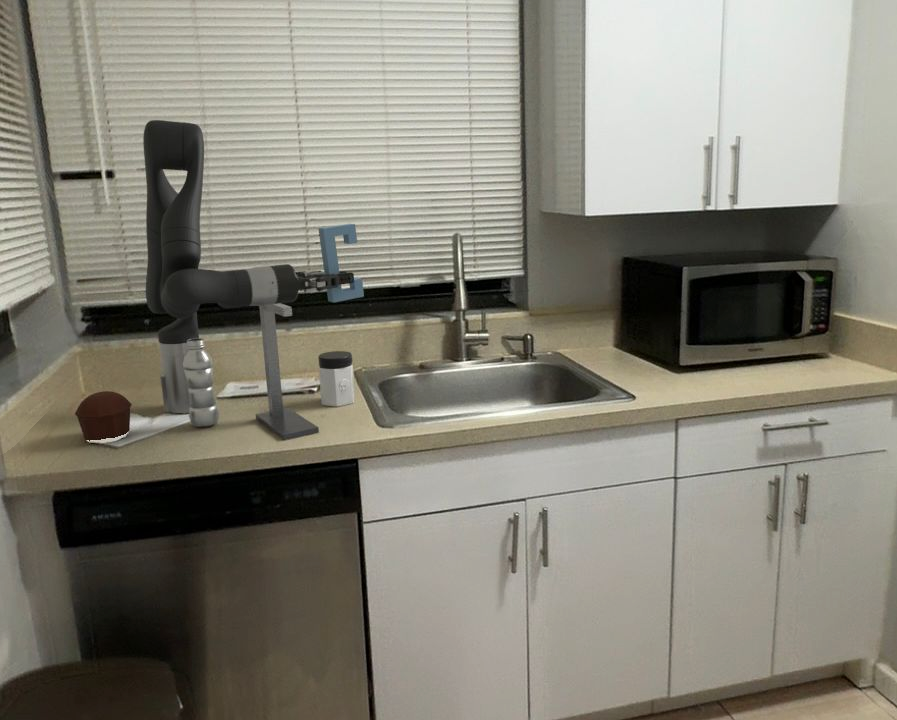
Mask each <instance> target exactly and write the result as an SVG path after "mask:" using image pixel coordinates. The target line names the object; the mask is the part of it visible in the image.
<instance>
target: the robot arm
mask: <svg viewBox="0 0 897 720" xmlns="http://www.w3.org/2000/svg"><path fill="white" fill-rule="evenodd" d="M142 138H143V142H142V143H143V157H144V158H143V159H144V168H145V178H146V179H145V180H146V212H145V213H146V215H145V216H146V217H145V218H146V220H145V221H146V223H145V224H146V225H145V226H146V245H147V246H146V247H147V266H146V278H145V299H146V304H147V306H148V309H149V310H150V311H151V312H152V313H154V314H158V315H159V314H160V315H163V314H168V315H169V316H171V317H173V318H175V319H176V320H175V321H172V323H170V324H168V325H166V326H164V327H162V328H160V329H159V330H158V332H157V337H158V347H159V354H160V355H159V356H160V360H161V361H160V362H161V370H162V373H160V386H161V392H162V401H163V408H164V409H163V410H164V413H170V412H173V413H172V414H175V413H183V414H189V407H190V400H189V389H188V388H189V387H188V383H187V379H186V375H185V372H184V368H183V360H184V358H185V356H186V355H187V353H188V351H189V349H187V340H189V339H194V338H200V334H199V324H198V312H197V311H198V310H199V308H200V306H201V305H203V304H217V305H218V306H219V307H221V308H225V309H231V308H240V307H248V306H249V307H250V306H254V307H256V306H258V307H259V306H262V305H271V304H279V303H281V304H287V303H293V302H295V301H296V300H297V298H298V293H299V292H303V293H313V292H314V291H318V292H322V291H327V289H332V288H337V287H338V285H341V286H342V285H349V284H350V283H354V278H355V274H354V273H353V272H350V271H349V272H348V271H345V270H342V271H341V270H339V272H340V273H339V274H335V273H333V274H326V273H324V270H322V271H321V270H308V271H307V270H299V271H296V270H295V268H294V267H293V265H291V264H288V263H286V264H285V263H283V264H273V265H263V266H262V265H261V266H255V267H249V268H246V269H244V268H243V269H234V270H226V271H219V270H213V269H204V268H203V269H202V268H199V265H200V263H201V257H202V256H201V255H202V245H201V244H202V243H201V227H200V226H201V225H200V224H201V220H200V219H201V206H202V200H203V199H202V196H203V184H204V183H203V182H204V166H205V165H204V164H205V141H204V135H203V131H202V128H201V127H200V125H198V124H196V123H191V122H184V121H182V122H181V121H173V120H171V121H170V120H163V119H161V120H160V119H154V120H152V119H151V120H149V121H148V122H147V123H146V125H145V127H144V131H143V137H142ZM164 170H166V171H167V170H169V171H185V172H186V178H185V181H184V184H183V185H182V187H181V189H180V191H179V192H177V191H176V190H175V188H173V186H172V185H171V183H170V182H169V180H168V178H167V176H166V174H165V171H164ZM331 282H332V283H331Z"/></svg>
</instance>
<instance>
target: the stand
mask: <svg viewBox="0 0 897 720" xmlns="http://www.w3.org/2000/svg"><path fill="white" fill-rule="evenodd" d="M258 307H259V316H260V327H261V337H262V339H261V340H262V348H263V350H262V351H263V357H264V371H265V380H266V390H267V391H266V392H267V401H268V411H266V412H261V413H256V414H255V420H256V421H258V422H259V423H260V424H261V425H263V426H264V427H266V428H267V429H268V430H269V431H271V432H272V433H274V434H275V435H276V434H277V435H276V436H277V437H279V438H280V437H281V438H280V439H282V441H286V439H288V440H291V438H292V439H296V438H295V437H297V438H300V436H301V437H305V436H304V435H306V436H309V434H310V435H313V434H314V433H315V434H317V433H318V434H319V433H320V430H319V426H317V425H316V424H314V423H312V422H311V421H309V420H308V419H306V418H305V417H303V416H302V415H300V413H299V414H298V413H297V412H295V411H294V410H292V409H291V408H289V407H287V408H284V405H283V404H284V402H283V392H282V379H281V369H280V357H279V348H278V337H277V335H278V334H277V325H276V315H279V316H282V317H285V318H286V317H291V316H293V309H292V306H289V305H286V304H285V303H279V304H271V305H262V306H258Z"/></svg>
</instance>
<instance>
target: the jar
mask: <svg viewBox="0 0 897 720" xmlns="http://www.w3.org/2000/svg"><path fill="white" fill-rule="evenodd" d="M318 366H319V368H318V374H319V386H320V387H319V388H320V399H321V400H320V401H321V402H320V403H321V405H322V406H328V407H335V408H337V407H344V406H347V405H352V404H354V403H355V397H356V395H355V394H356V393H355V381H354V379H355V378H354V364H353V354H352V353H351V352H349V351H343V350H335V351H327V352H323V353H320V354H319V355H318Z"/></svg>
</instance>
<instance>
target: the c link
mask: <svg viewBox="0 0 897 720" xmlns="http://www.w3.org/2000/svg"><path fill="white" fill-rule="evenodd" d="M356 228H357V227H356V223H346V224H344V223H343V224H337V225H331V226H325V227H319V228H318V229H317V230H318V236H319V237H318V238H319V241H320V244H319V245H320V249H321V251H320V252H321V257H322V264H323V272H324V273H326V274H333V273H335V274H339V273H340V272H339V271H340V266H339V260H338V259H339V258H338V257H339V256H338V252H337V251H338V250H337V243H336V237H338V236H340V237H341V236H342V237H343V244H344V245H346V244H347V245H352V244H358V235H357V229H356ZM331 283H332V282H331ZM348 285H349V288H344V289H342V288H343V287H342V284H341V285H338V287H337V288H332V289H327V290H326V293H327V301H328V302H330V303H340V302H343V301H347V300H353V299H358V298H359V299H360V298H363V297H365V295H364V294H365V293H364V285H363V278H362V277H358V276H356V277H355V276H354V283H350V284H348Z"/></svg>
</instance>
